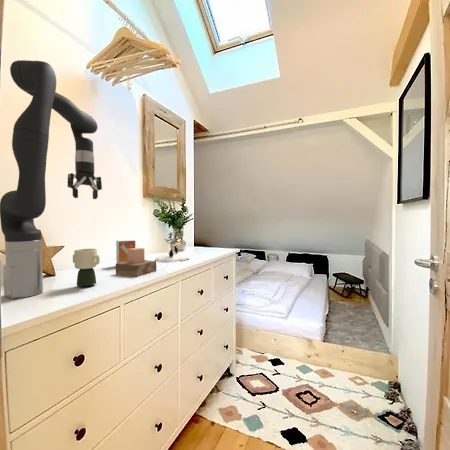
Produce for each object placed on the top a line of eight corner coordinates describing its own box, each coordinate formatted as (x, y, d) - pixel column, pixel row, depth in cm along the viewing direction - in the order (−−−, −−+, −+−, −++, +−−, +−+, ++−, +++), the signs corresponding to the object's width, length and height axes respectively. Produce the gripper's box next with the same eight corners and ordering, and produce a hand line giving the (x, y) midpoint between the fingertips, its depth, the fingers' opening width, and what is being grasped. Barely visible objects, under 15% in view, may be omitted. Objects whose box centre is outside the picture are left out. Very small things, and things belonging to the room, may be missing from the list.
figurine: (170, 254, 164) (169, 229, 162) (195, 256, 156) (193, 229, 154) (148, 263, 146) (146, 234, 144) (175, 265, 138) (173, 235, 136)
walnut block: (137, 277, 107) (137, 265, 107) (115, 275, 112) (115, 263, 112) (156, 272, 118) (156, 261, 118) (135, 270, 123) (135, 259, 123)
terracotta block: (134, 263, 112) (134, 249, 112) (127, 262, 115) (127, 248, 115) (144, 262, 116) (144, 248, 116) (137, 260, 119) (137, 247, 119)
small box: (119, 267, 127) (118, 241, 127) (116, 265, 132) (115, 240, 132) (136, 266, 131) (135, 240, 131) (132, 264, 137) (132, 239, 136)
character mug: (106, 284, 96) (105, 248, 95) (92, 289, 89) (91, 251, 88) (81, 282, 98) (80, 248, 98) (65, 287, 91) (64, 250, 91)
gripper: (72, 158, 109) (73, 197, 110) (104, 163, 121) (105, 199, 122) (63, 160, 113) (64, 198, 114) (95, 165, 125) (96, 199, 126)
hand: (85, 198), depth 118 cm, fingers open, 8 cm apart
